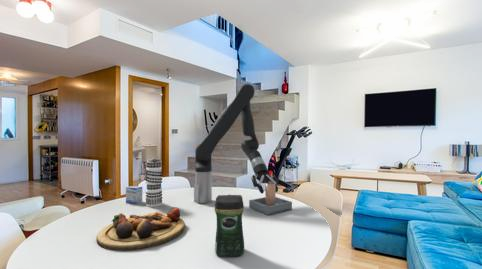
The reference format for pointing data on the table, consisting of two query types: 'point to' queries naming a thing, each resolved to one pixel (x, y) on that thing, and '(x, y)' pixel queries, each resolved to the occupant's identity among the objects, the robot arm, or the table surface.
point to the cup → (270, 194)
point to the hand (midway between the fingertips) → (269, 192)
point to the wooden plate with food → (141, 230)
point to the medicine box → (133, 194)
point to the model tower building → (153, 182)
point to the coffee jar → (229, 225)
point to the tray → (270, 210)
